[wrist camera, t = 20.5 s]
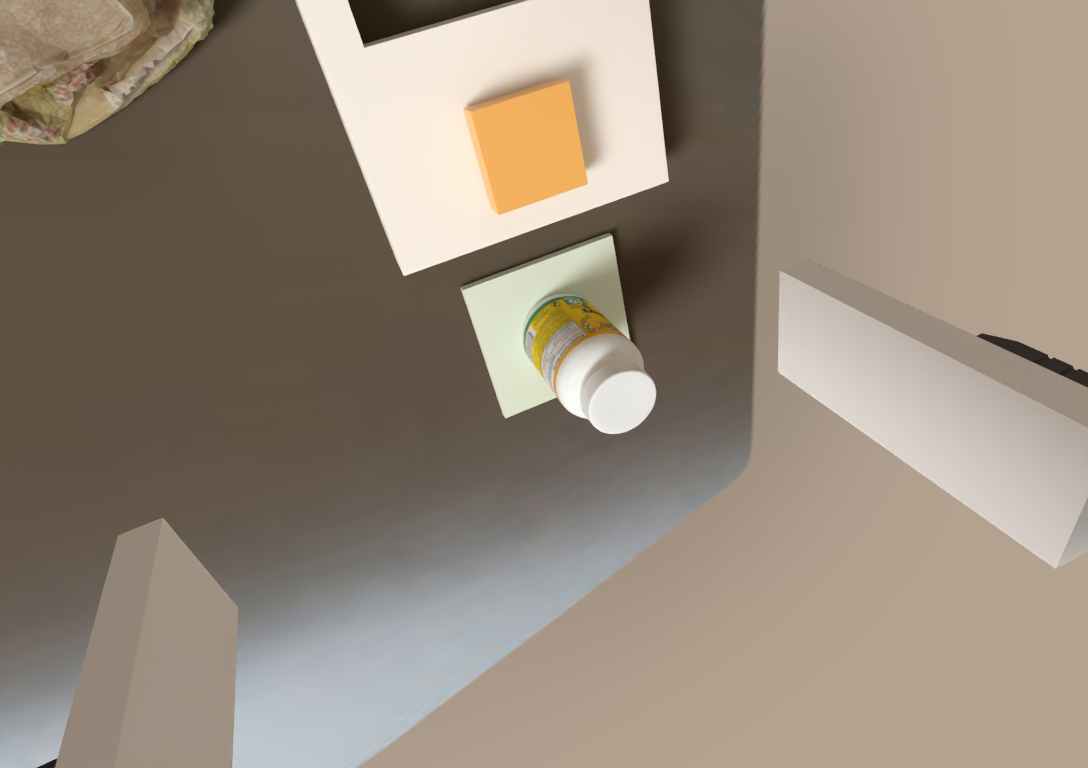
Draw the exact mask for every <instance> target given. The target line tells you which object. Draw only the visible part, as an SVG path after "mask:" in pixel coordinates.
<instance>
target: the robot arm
mask: <svg viewBox="0 0 1088 768" xmlns="http://www.w3.org/2000/svg"><path fill="white" fill-rule="evenodd" d="M778 372H779V373H780V374H782V375H783V376H784V377H786V378H787V379H789V380H790V381H791V382H793V383H794V384H795V385H797V386H799V387H800V388H801V389H803V390H804V391H805V392H807V393H808V394H810V395H811V396H812V397H814V398H815V399H817V400H818V401H820V402H821V403H822V404H824V405H825V406H827V407H828V408H829V409H831V410H832V411H834V412H835V413H836V414H838V415H839V416H841V417H842V418H844V419H845V420H846V421H848V422H849V423H851V424H852V425H853V426H855V427H856V428H858V429H859V430H860V431H862V432H863V433H865V434H866V435H868V436H869V437H870V438H872V439H873V440H875V441H876V442H877V443H879V444H880V445H882V446H883V447H885V448H886V449H887V450H889V451H890V452H892V453H893V454H894V455H896V456H897V457H899V458H900V459H901V460H903V461H904V462H906V463H907V464H908V465H910V466H911V467H913V468H914V469H916V470H917V471H918V472H920V473H921V474H923V475H924V476H925V477H927V478H928V479H930V480H931V481H933V482H934V483H935V484H937V485H938V486H939V487H941V488H942V489H944V490H945V491H947V492H948V493H949V494H951V495H952V496H954V497H955V498H956V499H958V500H959V501H961V502H962V503H963V504H965V505H966V506H968V507H969V508H971V509H972V510H973V511H975V512H976V513H978V514H979V515H981V516H982V517H983V518H985V519H986V520H987V521H989V522H990V523H992V524H993V525H995V526H996V527H997V528H999V529H1000V530H1002V531H1003V532H1004V533H1006V534H1007V535H1009V536H1010V537H1011V538H1013V539H1014V540H1016V541H1017V542H1019V543H1020V544H1021V545H1023V546H1024V547H1026V548H1027V549H1028V550H1030V551H1031V552H1033V553H1034V554H1035V555H1037V556H1038V557H1040V558H1041V559H1043V560H1044V561H1046V562H1047V563H1048V564H1050V565H1051V566H1053V567H1054V568H1055V569H1057V568H1058V567H1060V566H1062V565H1064V564H1065V563H1067V562H1069V561H1070V560H1072V559H1074V558H1076V557H1078V556H1079V555H1081V554H1083V553H1085V552H1086V551H1088V373H1087V372H1085V371H1083V370H1081V369H1078V370H1074V368H1073V366H1072V365H1069V364H1067V363H1065V362H1063V361H1060V360H1058V359H1056V358H1052V359H1050V358H1049V357H1048V355H1047V354H1045V353H1042V352H1040V351H1038V350H1035V349H1033V348H1031V347H1029V346H1026V345H1024V344H1022V343H1020V342H1017V341H1013V340H1009V339H1004V338H999V337H996V336H991V335H987V334H980V335H978V336H975V335H973V334H970V333H968V332H966V331H964V330H961V329H960V328H957V327H955V326H953V325H951V324H949V323H947V322H944V321H942V320H940V319H938V318H936V317H934V316H931V315H929V314H927V313H925V312H923V311H921V310H918V309H916V308H914V307H912V306H910V305H907V304H905V303H903V302H901V301H899V300H896V299H894V298H892V297H890V296H888V295H886V294H884V293H882V292H879V291H877V290H875V289H873V288H871V287H868V286H866V285H864V284H862V283H860V282H858V281H856V280H853V279H851V278H849V277H847V276H845V275H843V274H840V273H838V272H836V271H834V270H832V269H829V268H827V267H825V266H823V265H821V264H819V263H816V262H814V261H812V260H810V259H808V260H805V261H803V262H800V263H798V264H795V265H793V266H790V267H788V268H786V269H783V270H780V292H779V342H778ZM237 627H238V607H237V606H236V605H235V603H234V602H233V601H232V600H231V599H230V597H229V596H228V595H227V594H226V593H225V591H224V590H223V589H222V588H221V587H220V585H219V584H218V583H217V582H216V581H215V580H214V578H213V577H212V576H211V575H210V574H209V572H208V571H207V570H206V569H205V568H204V566H203V565H202V564H201V563H200V562H199V560H198V559H197V558H196V557H195V556H194V554H193V553H192V552H191V551H190V550H189V548H188V547H187V546H186V545H185V544H184V542H183V541H182V540H181V539H180V538H179V536H178V535H177V534H176V533H175V532H174V530H173V529H172V528H171V527H170V526H169V524H168V523H167V522H166V521H165V520H164V518H161V519H158V520H156V521H153V522H151V523H148V524H146V525H143V526H141V527H138V528H136V529H133V530H131V531H128V532H126V533H123V534H121V535H118V538H117V541H116V545H115V549H114V552H113V556H112V560H111V563H110V567H109V571H108V574H107V578H106V582H105V585H104V589H103V593H102V596H101V600H100V604H99V608H98V611H97V615H96V619H95V622H94V626H93V630H92V633H91V637H90V641H89V644H88V648H87V652H86V655H85V659H84V663H83V666H82V670H81V674H80V677H79V681H78V685H77V689H76V692H75V696H74V700H73V703H72V707H71V711H70V714H69V718H68V722H67V725H66V729H65V733H64V736H63V740H62V744H61V747H60V751H59V755H58V758H57V759H55V760H53V761H51V762H48V763H46V764H44V765H42V766H40V767H37V768H232V754H233V729H234V703H235V678H236V652H237Z"/></svg>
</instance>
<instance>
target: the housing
mask: <svg viewBox="0 0 1088 768" xmlns="http://www.w3.org/2000/svg"><path fill="white" fill-rule="evenodd" d="M295 1H296V4H297V7H298V9H299V12H300V14H301V17H302V19H303V22H304V24H305V27H306V30H307V32H308V35H309V37H310V40H311V42H312V45H313V48H314V50H315V53H316V55H317V58H318V60H319V63H320V66H321V68H322V71H323V73H324V76H325V78H326V81H327V84H328V86H329V89H330V91H331V94H332V96H333V99H334V102H335V104H336V107H337V109H338V112H339V114H340V117H341V119H342V122H343V125H344V127H345V130H346V132H347V135H348V137H349V140H350V143H351V145H352V148H353V150H354V153H355V155H356V158H357V161H358V163H359V166H360V168H361V171H362V173H363V176H364V179H365V181H366V184H367V186H368V189H369V191H370V194H371V197H372V199H373V202H374V204H375V207H376V209H377V212H378V214H379V217H380V220H381V222H382V225H383V227H384V230H385V232H386V235H387V238H388V240H389V243H390V245H391V248H392V250H393V253H394V256H395V258H396V260H397V263H398V265H399V267H400V269H401V271H402V273H403V276H405V275H408V274H411V273H414V272H416V271H419V270H422V269H425V268H428V267H430V266H433V265H436V264H439V263H442V262H444V261H447V260H450V259H453V258H456V257H458V256H461V255H464V254H467V253H470V252H472V251H475V250H478V249H481V248H484V247H486V246H489V245H492V244H495V243H498V242H500V241H503V240H506V239H509V238H512V237H514V236H517V235H520V234H523V233H526V232H528V231H531V230H534V229H537V228H540V227H542V226H545V225H548V224H551V223H554V222H556V221H559V220H562V219H565V218H568V217H570V216H573V215H576V214H579V213H582V212H584V211H587V210H590V209H593V208H596V207H598V206H601V205H604V204H607V203H610V202H612V201H615V200H618V199H621V198H624V197H626V196H629V195H632V194H635V193H638V192H640V191H643V190H646V189H649V188H652V187H654V186H657V185H660V184H663V183H666V182H668V181H669V180H668V171H667V162H666V152H665V143H664V134H663V125H662V116H661V107H660V97H659V88H658V79H657V70H656V61H655V51H654V42H653V33H652V24H651V15H650V5H649V0H514V1H511V2H507V3H504V4H501V5H497V6H494V7H490V8H487V9H483V10H480V11H476V12H473V13H469V14H466V15H462V16H459V17H455V18H452V19H449V20H445V21H442V22H438V23H435V24H431V25H428V26H424V27H421V28H417V29H414V30H410V31H407V32H404V33H400V34H397V35H393V36H390V37H386V38H383V39H379V40H376V41H372V42H369V43H365V44H363V43H362V40H361V37H360V34H359V31H358V29H357V26H356V23H355V20H354V17H353V14H352V11H351V8H350V6H349V3H348V0H295ZM557 78H559V79H563V80H568V81H569V83H570V88H571V94H572V99H573V104H574V110H575V115H576V121H577V126H578V132H579V137H580V142H581V148H582V153H583V159H584V164H585V170H586V175H587V181H588V184H587V185H584V186H581V187H578V188H576V189H573V190H570V191H567V192H564V193H561V194H558V195H556V196H553V197H550V198H547V199H544V200H541V201H538V202H536V203H533V204H530V205H527V206H524V207H521V208H518V209H515V210H513V211H510V212H507V213H504V214H501V215H498V214H497V213H496V212H495V211H494V210H493V209H491V206H490V203H489V199H488V196H487V192H486V189H485V185H484V182H483V178H482V174H481V171H480V167H479V164H478V160H477V157H476V153H475V149H474V146H473V142H472V139H471V135H470V132H469V128H468V124H467V121H466V117H465V114H464V110H463V108H465V107H468V106H472V105H475V104H478V103H481V102H484V101H488V100H491V99H494V98H497V97H500V96H503V95H507V94H510V93H513V92H516V91H519V90H522V89H526V88H529V87H532V86H535V85H538V84H541V83H545V82H548V81H551V80H554V79H557Z"/></svg>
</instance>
